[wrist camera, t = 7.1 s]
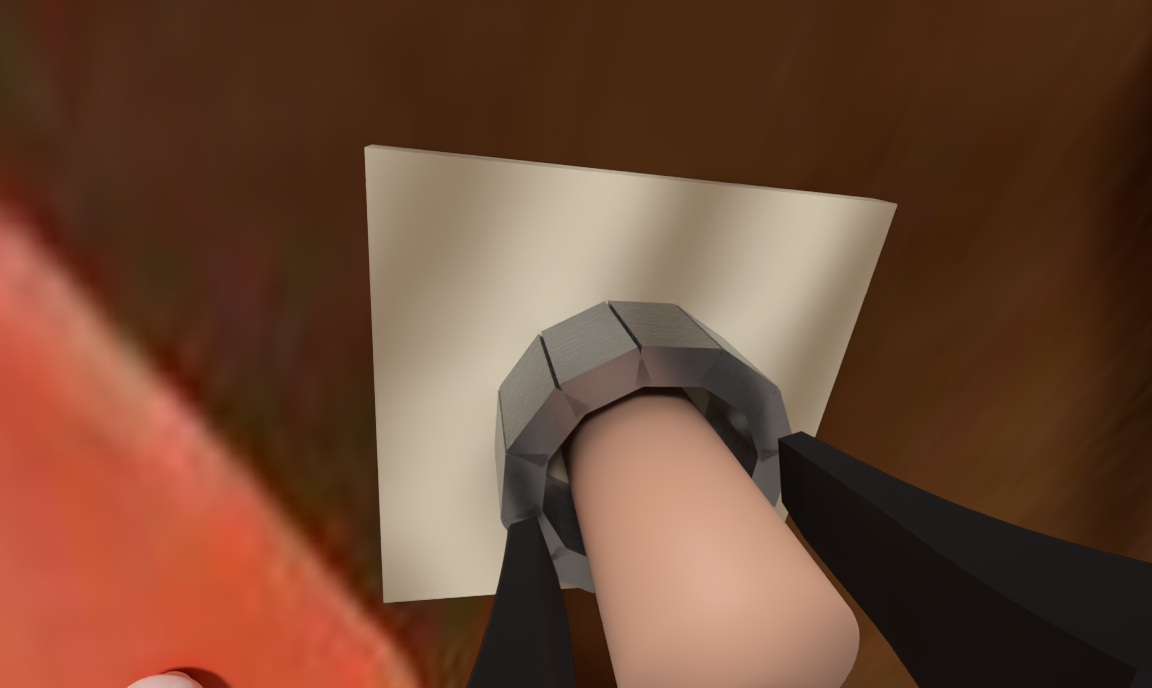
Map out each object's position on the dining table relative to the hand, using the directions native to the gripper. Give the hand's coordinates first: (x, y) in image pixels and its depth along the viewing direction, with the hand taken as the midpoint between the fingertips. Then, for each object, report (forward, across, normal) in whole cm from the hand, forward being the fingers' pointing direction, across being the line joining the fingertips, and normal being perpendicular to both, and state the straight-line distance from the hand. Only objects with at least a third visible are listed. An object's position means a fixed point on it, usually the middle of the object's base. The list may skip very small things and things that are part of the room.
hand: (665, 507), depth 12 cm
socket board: (+5, 0, 0) cm, 5 cm away
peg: (+4, 0, 0) cm, 4 cm away
